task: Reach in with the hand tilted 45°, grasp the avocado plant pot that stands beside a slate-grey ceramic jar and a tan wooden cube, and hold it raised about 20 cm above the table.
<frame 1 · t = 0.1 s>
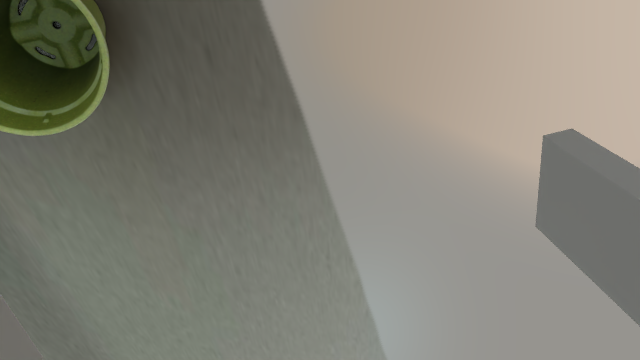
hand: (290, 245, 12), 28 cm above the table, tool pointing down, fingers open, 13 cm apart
plant pot: (61, 24, 34), on the table
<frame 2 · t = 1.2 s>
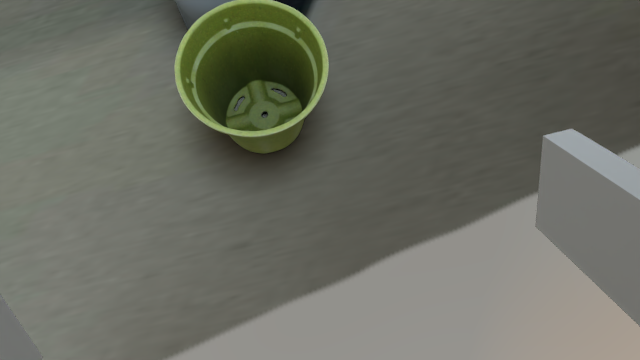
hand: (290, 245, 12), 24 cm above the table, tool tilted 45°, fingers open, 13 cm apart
slate jar: (226, 12, 40), on the table
plant pot: (264, 119, 38), on the table
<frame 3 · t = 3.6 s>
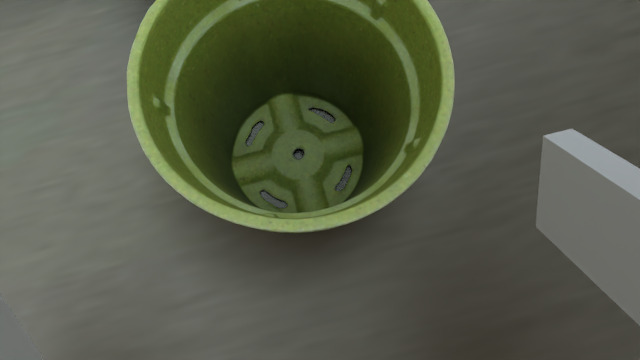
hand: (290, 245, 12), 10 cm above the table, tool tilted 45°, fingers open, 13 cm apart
plant pot: (297, 160, 22), on the table
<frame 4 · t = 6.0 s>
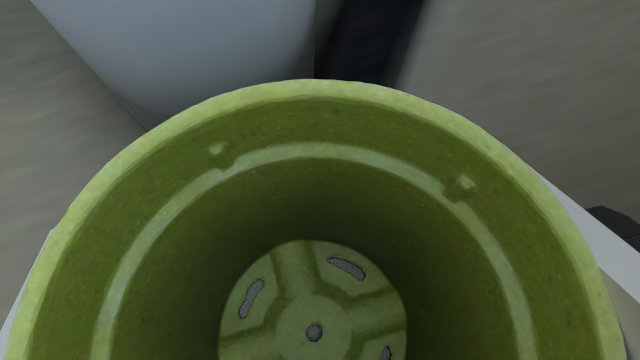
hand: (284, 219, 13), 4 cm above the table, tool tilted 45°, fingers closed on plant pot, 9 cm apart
slate jar: (220, 70, 18), on the table
plant pot: (312, 335, 16), on the table, touching gripper
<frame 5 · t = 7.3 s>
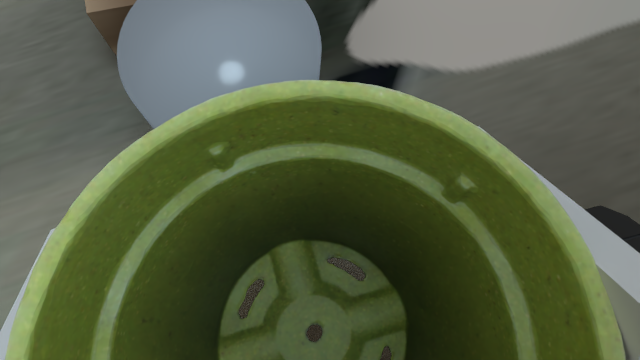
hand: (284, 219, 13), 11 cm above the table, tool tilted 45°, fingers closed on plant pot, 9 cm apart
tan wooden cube: (164, 20, 27), on the table
slate jar: (247, 138, 25), on the table
plant pot: (312, 335, 16), point 7 cm above the table, touching gripper
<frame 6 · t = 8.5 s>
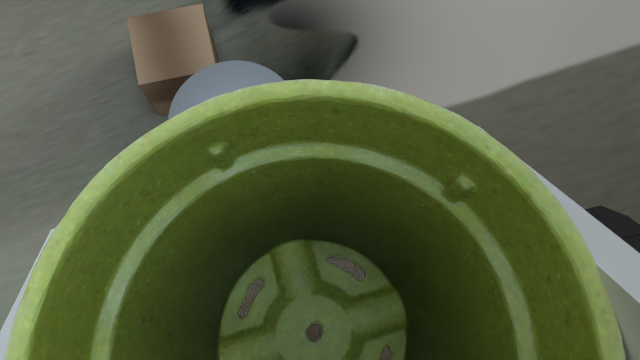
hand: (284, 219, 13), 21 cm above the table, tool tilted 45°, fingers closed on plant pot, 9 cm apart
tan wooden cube: (188, 79, 36), on the table
slate jar: (251, 167, 35), on the table
plant pot: (312, 334, 16), point 17 cm above the table, touching gripper
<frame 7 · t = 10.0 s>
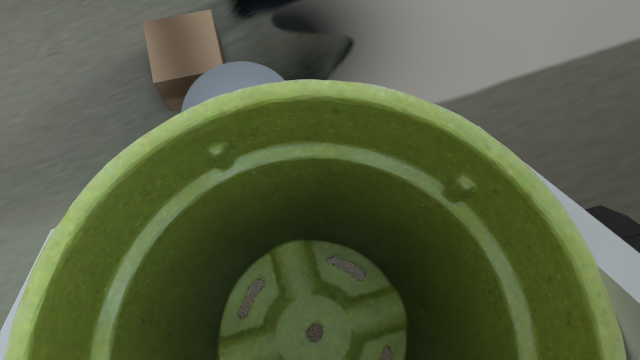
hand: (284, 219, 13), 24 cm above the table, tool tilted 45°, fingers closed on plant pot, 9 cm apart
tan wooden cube: (197, 77, 40), on the table
slate jar: (254, 158, 38), on the table
plant pot: (312, 335, 16), point 20 cm above the table, touching gripper
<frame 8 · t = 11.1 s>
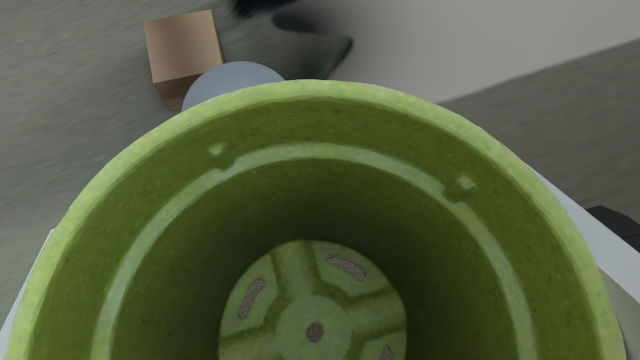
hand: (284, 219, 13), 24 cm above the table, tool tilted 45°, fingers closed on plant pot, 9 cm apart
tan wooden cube: (197, 77, 40), on the table
slate jar: (254, 158, 38), on the table
plant pot: (312, 335, 16), point 20 cm above the table, touching gripper
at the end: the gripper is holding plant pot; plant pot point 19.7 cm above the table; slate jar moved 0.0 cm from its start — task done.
